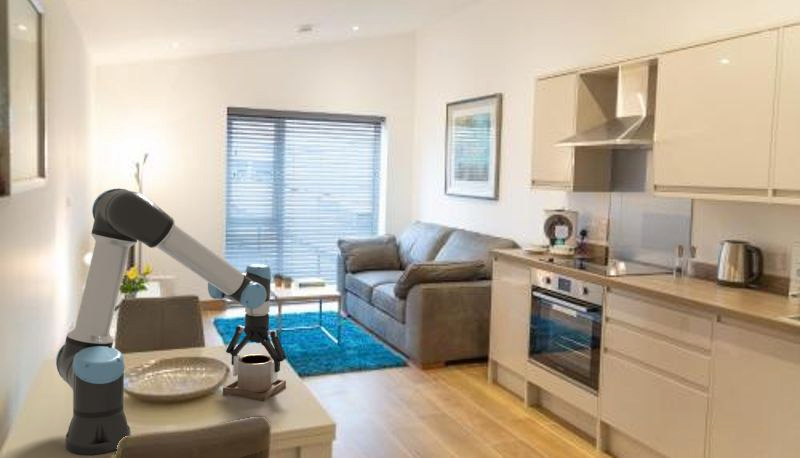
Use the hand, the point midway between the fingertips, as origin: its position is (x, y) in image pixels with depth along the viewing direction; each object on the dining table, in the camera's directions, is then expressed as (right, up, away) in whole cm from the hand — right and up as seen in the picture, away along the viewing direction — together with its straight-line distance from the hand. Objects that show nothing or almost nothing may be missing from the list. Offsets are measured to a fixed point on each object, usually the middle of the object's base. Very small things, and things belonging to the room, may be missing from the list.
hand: (255, 378), depth 209 cm
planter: (0, -3, 0) cm, 3 cm away
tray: (0, -4, 0) cm, 4 cm away
